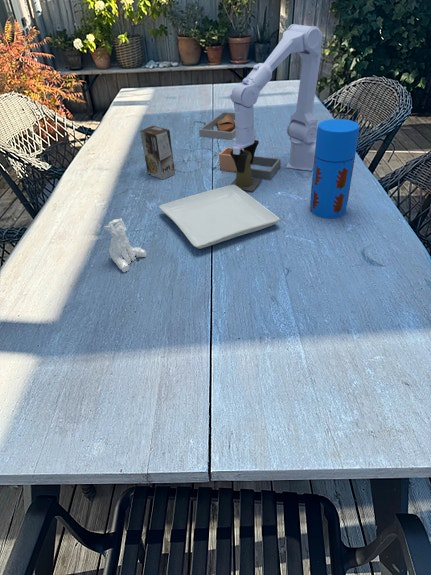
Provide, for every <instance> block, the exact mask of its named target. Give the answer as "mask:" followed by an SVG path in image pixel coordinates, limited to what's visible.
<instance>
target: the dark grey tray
mask: <svg viewBox="0 0 431 575" xmlns="http://www.w3.org/2000/svg"><path fill="white" fill-rule="evenodd" d="M228 114H230V115H231V117H232V118H233V120H234V121H235V112H229V111H222V112H220V113H219V114H218V115H216V116H215V117H214V118H212V119H211V120H210V121H208V122H207V123H206V124H204V125H203V126H202V127H200V128H199V129H198V135H199V137H201V138H209V139H210V138H211V139H218V140H219V139H220V140H229V141H232V140H233V139H234V138H236V131H235V129H234V130H233V131H232V132H225V131H219V130H214V129H213V128H215V127H217V125H216V123H217V122H218V121H220V120H221V119H223V118H224V117H225V116H226V115H228Z"/></svg>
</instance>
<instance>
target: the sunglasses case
mask: <svg viewBox="0 0 431 575" xmlns="http://www.w3.org/2000/svg"><path fill="white" fill-rule="evenodd" d="M216 127H217V131H225V132H232V131H233V130H234V129H235V120H233V118H232V117H231V115H230V114H228V115H226V116H225V117H224V118H223V119H221V120H220V121H218V122H217V123H216Z"/></svg>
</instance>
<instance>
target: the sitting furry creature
mask: <svg viewBox="0 0 431 575" xmlns="http://www.w3.org/2000/svg"><path fill="white" fill-rule="evenodd" d="M103 229H104V230H106V231H108V233H109V235H111V239H110V247H109V250H108V251H109V252H108V253H109V256H110V259H111V260H112V261H113V262H114V263H115V264H116V266H117V267H118V268H119V270H121V272H123V273H126V271H127V272H129V270H130V265H131V264H132V262H135V261H136V260H137V259H138V258H146V257H147V250H146V249H144V248H141V247H140V246H139V247H135V246H134V247H133V246H131V243H130V240H129V238H128V237H127V235H126V232H127V226H126V225H125V222H124V221H123V218H122V217H120V218H116V219H115V218H114V219H112V220H110V221H109V222H108V224H107V225H104V226H103ZM135 256H136V257H135ZM136 258H137V259H136ZM135 259H136V260H135ZM131 261H132V262H131ZM130 263H131V264H130ZM128 264H130V265H128Z"/></svg>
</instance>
